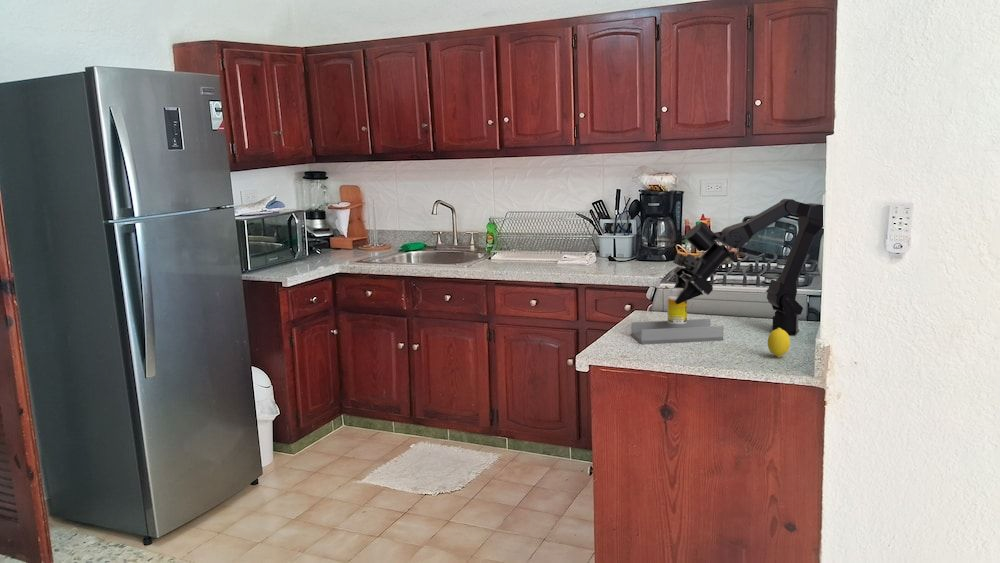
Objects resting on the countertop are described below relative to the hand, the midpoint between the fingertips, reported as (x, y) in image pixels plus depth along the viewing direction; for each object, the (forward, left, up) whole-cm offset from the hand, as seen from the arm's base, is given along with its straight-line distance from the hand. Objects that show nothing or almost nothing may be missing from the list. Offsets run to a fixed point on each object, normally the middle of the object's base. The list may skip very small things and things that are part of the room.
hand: (672, 301), depth 229 cm
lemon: (-32, +9, -11) cm, 35 cm away
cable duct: (-1, -1, -11) cm, 11 cm away
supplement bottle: (-1, -1, -7) cm, 7 cm away
